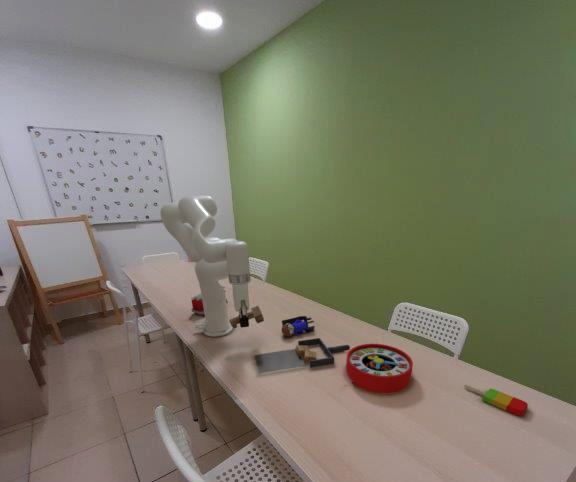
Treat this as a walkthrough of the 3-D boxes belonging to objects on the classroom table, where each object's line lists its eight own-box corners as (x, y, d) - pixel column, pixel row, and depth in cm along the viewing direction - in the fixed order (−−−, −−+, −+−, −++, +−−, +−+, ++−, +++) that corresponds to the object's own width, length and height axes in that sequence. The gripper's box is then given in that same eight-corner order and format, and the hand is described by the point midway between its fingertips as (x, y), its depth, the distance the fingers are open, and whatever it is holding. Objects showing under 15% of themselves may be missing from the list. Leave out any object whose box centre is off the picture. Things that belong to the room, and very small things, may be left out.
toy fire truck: (230, 305, 158) (227, 287, 154) (203, 318, 143) (200, 298, 139) (217, 302, 162) (215, 284, 158) (190, 314, 148) (187, 295, 144)
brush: (233, 333, 108) (230, 325, 106) (231, 323, 116) (228, 316, 114) (264, 321, 109) (261, 313, 107) (260, 312, 117) (258, 305, 115)
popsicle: (521, 418, 77) (523, 412, 76) (460, 391, 88) (461, 386, 87) (527, 408, 80) (529, 402, 80) (467, 383, 91) (468, 378, 90)
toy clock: (352, 340, 106) (412, 348, 100) (351, 354, 109) (410, 363, 102) (341, 370, 89) (413, 382, 83) (340, 386, 91) (410, 399, 85)
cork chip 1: (298, 356, 106) (299, 350, 105) (295, 351, 110) (296, 345, 109) (308, 356, 107) (310, 350, 106) (305, 351, 111) (306, 345, 110)
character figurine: (317, 334, 125) (284, 342, 119) (308, 326, 131) (277, 334, 125) (318, 317, 121) (284, 325, 115) (309, 310, 127) (277, 317, 121)
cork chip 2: (303, 362, 103) (304, 356, 102) (303, 356, 107) (305, 350, 105) (315, 363, 103) (316, 357, 102) (315, 357, 106) (316, 351, 105)
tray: (259, 375, 98) (259, 373, 98) (254, 357, 109) (254, 355, 108) (306, 368, 101) (306, 365, 101) (296, 351, 112) (296, 348, 112)
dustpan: (310, 370, 100) (310, 361, 99) (298, 348, 114) (298, 340, 112) (358, 362, 104) (359, 353, 102) (341, 342, 117) (341, 334, 116)
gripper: (227, 273, 111) (232, 318, 119) (230, 285, 97) (236, 335, 105) (247, 271, 113) (251, 316, 120) (253, 282, 99) (257, 332, 106)
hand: (244, 325), depth 112 cm, fingers closed on brush, 2 cm apart
